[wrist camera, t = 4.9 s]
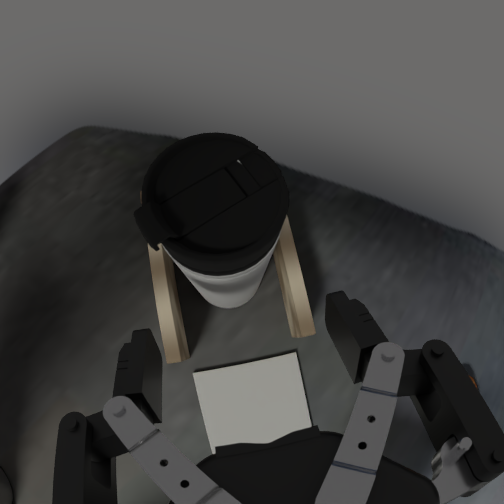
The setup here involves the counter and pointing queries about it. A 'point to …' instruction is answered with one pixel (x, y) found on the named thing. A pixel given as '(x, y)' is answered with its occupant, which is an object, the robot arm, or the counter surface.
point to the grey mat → (253, 401)
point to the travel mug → (215, 213)
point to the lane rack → (170, 303)
